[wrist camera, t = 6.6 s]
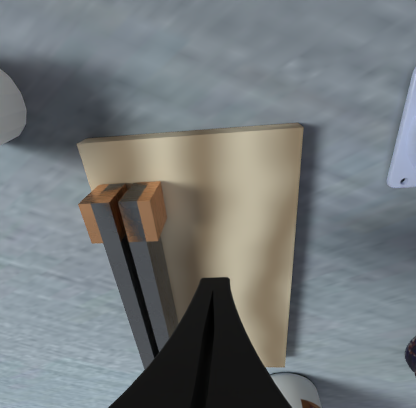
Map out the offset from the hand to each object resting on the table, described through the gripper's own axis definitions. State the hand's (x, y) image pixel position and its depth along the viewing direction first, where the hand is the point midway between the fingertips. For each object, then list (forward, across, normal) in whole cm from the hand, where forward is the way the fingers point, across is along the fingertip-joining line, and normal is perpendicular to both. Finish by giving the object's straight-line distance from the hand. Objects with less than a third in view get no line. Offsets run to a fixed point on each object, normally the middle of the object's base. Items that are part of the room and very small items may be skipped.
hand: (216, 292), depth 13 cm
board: (+9, +2, +7) cm, 12 cm away
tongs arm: (+8, +5, +6) cm, 11 cm away
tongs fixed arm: (+8, +7, +8) cm, 13 cm away
